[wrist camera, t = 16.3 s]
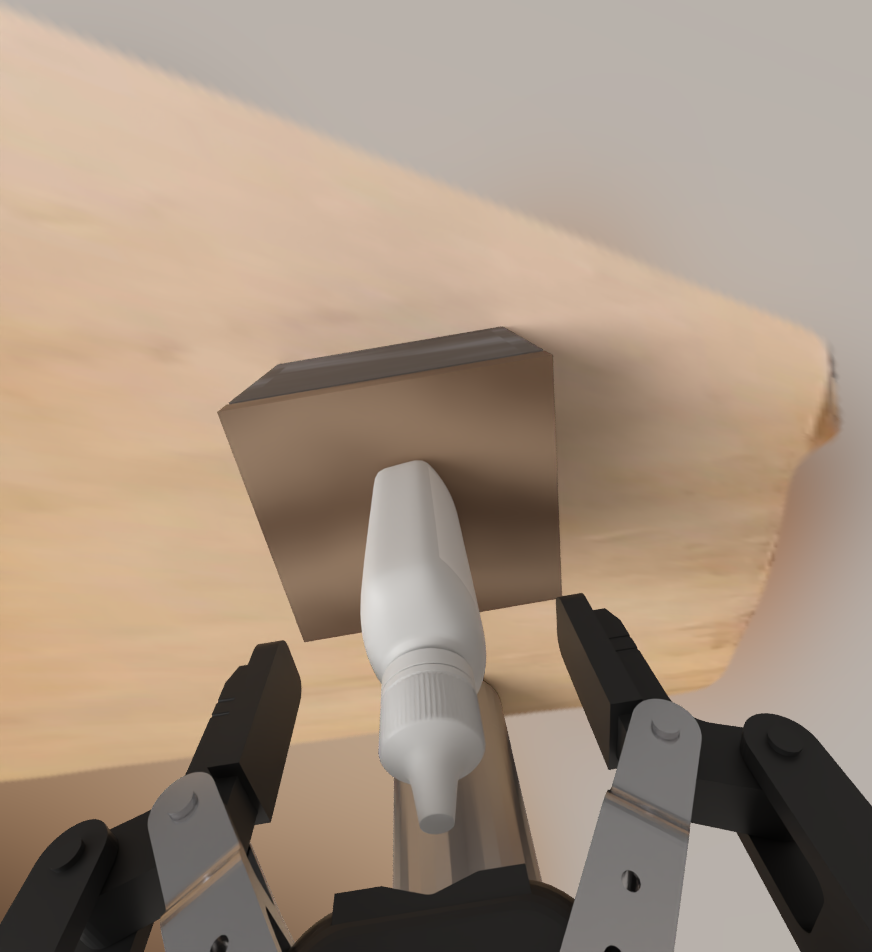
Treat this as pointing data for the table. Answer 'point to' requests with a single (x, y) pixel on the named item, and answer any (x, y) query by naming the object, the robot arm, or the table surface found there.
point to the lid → (395, 442)
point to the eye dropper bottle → (423, 639)
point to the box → (387, 362)
